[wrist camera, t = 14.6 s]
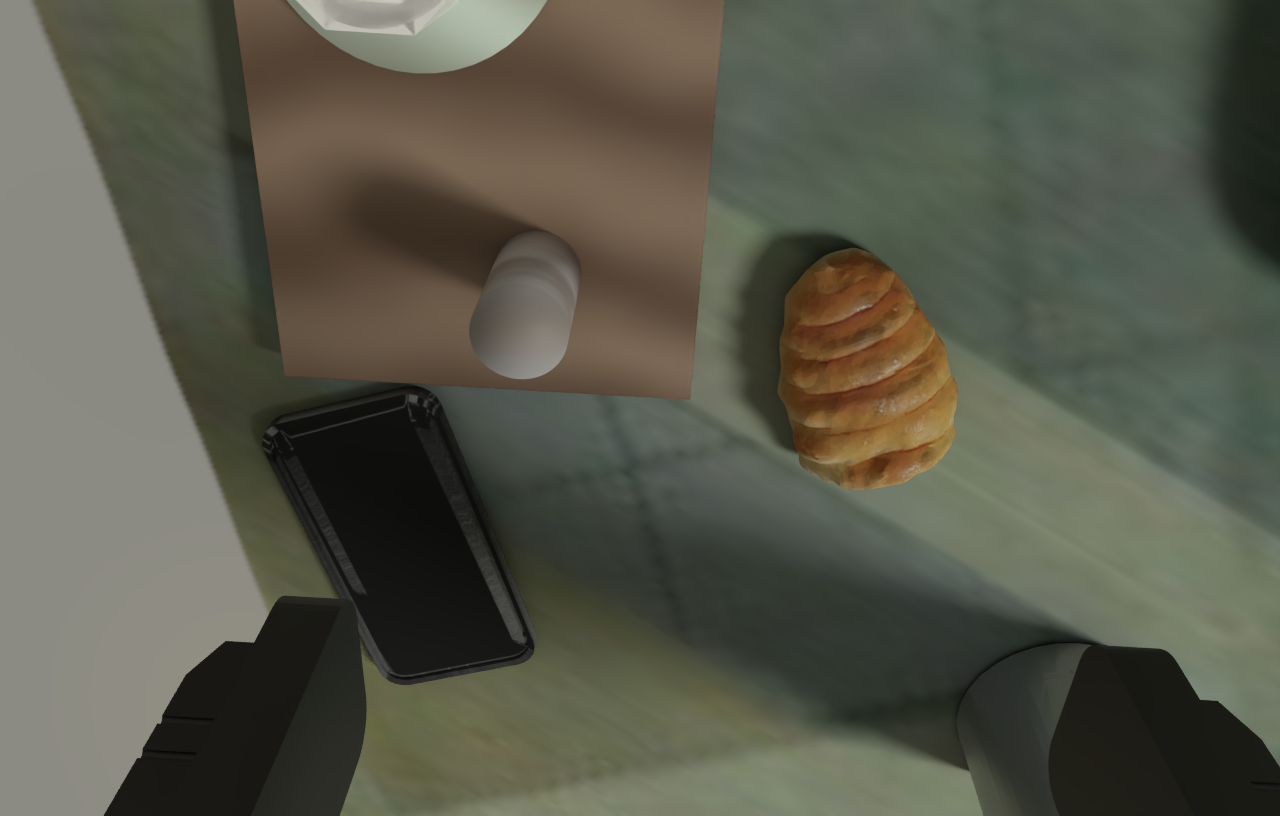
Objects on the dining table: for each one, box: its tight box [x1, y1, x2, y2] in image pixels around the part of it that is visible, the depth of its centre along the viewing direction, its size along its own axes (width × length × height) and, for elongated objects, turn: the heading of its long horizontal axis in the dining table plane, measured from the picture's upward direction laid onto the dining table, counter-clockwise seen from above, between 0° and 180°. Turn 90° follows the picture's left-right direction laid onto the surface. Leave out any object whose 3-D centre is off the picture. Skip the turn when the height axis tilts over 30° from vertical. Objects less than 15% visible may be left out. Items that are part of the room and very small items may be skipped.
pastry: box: [778, 248, 957, 490], centre depth 39 cm, size 9×7×4 cm
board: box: [233, 0, 724, 400], centre depth 32 cm, size 23×16×7 cm
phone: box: [262, 386, 536, 685], centre depth 45 cm, size 8×1×15 cm
